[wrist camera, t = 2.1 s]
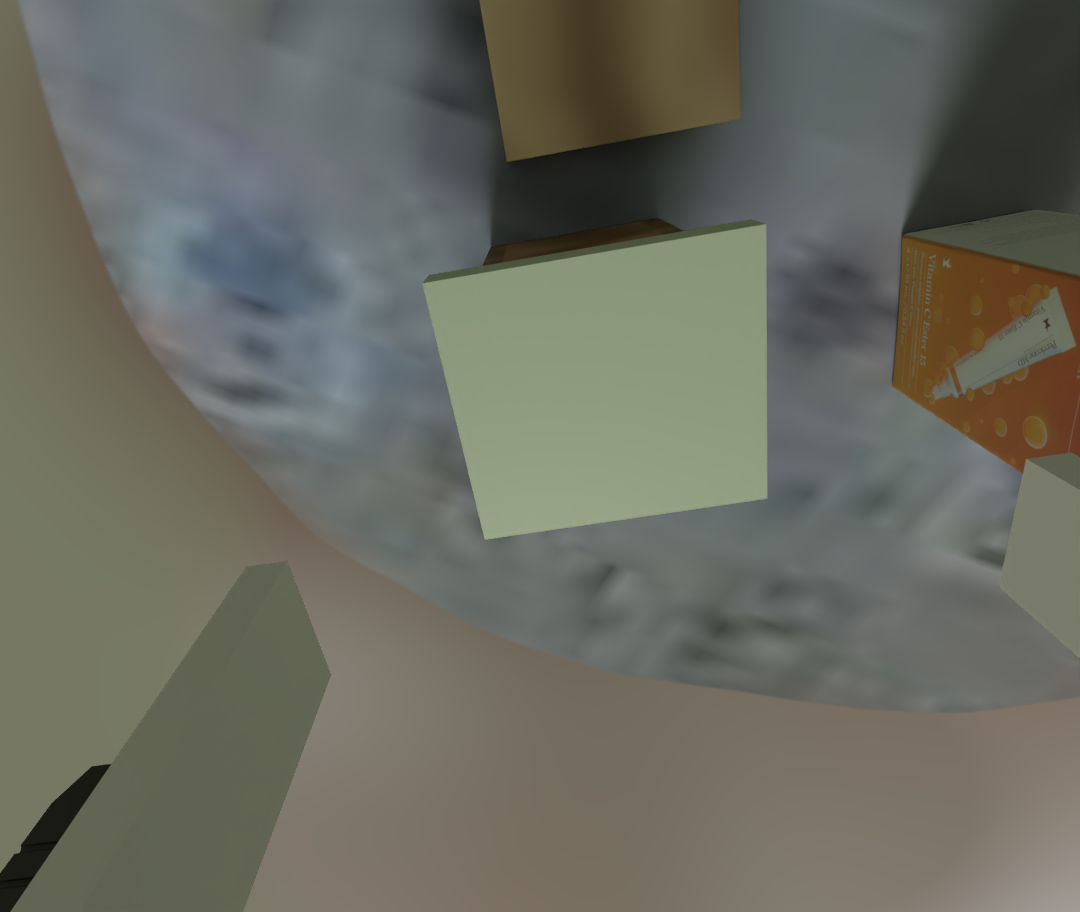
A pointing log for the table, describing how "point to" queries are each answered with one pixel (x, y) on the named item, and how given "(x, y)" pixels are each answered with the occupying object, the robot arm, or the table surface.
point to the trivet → (609, 69)
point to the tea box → (579, 240)
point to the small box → (995, 331)
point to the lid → (609, 378)
